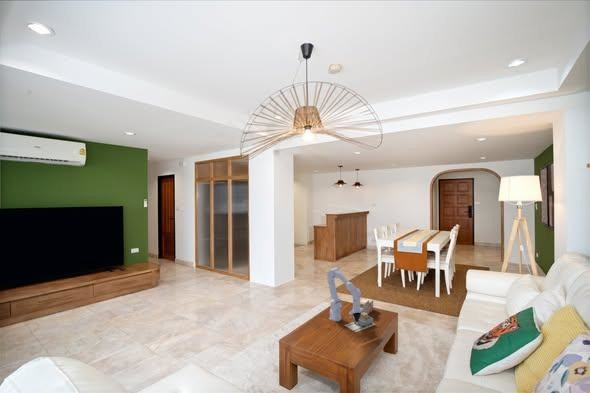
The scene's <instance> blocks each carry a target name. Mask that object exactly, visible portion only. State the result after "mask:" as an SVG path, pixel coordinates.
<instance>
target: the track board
mask: <svg viewBox="0 0 590 393" xmlns="http://www.w3.org/2000/svg"><path fill="white" fill-rule="evenodd" d="M344 326H345V327H347V328H348V329H350V330H352V331H353V332H355V333H356V332H360V331H362V330H365V329H367V328H368V329H369V328H370V327H373V326H376V323H374V322H372V324H370V323H369V324H366V325H364V327H362V325H360V324H358V323H357V322H356V323H354V321H353V322H350V323H347V324H344Z"/></svg>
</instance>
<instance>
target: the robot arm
mask: <svg viewBox="0 0 590 393" xmlns="http://www.w3.org/2000/svg"><path fill="white" fill-rule="evenodd" d="M326 273H327V276H326V279H327V283H328V284H327V285H328V288H329V293H330V298H331V300H330V302H329V303H330V310H329V318H328V320H331V321H334V322H340V321H341V319H342V315H341V314H342V313H341V310H342V308H343V303H342V301H341V299H340V298H339V295H338V292H337V287H336V283H335V282H336V281H335V278H336V279H339V280H340V281H341V282H342V283H343V284H344V285H345V288H346V289H347V291H349V292H350V294H351V296H352V309H351V310H350V311H349V312H348V315H350V316H351V315H353V317H354V318H355V321H356V322H358V320H359V317H360V315H361V313H360V312H361V311H364V308H360V300H361V295H362V291H361V289H360V288H357V287H356V286H355V285H354V283H353V282H351V281H348V279H347V278H346V277H345V276H344V274H343V273H342V271H341V270H340V268H339V267H336V266H335V267H334V268H331V269H328V271H327V272H326Z"/></svg>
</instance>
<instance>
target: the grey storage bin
mask: <svg viewBox="0 0 590 393" xmlns="http://www.w3.org/2000/svg"><path fill="white" fill-rule="evenodd" d="M352 321H353V322H354V323H356V321H355V318H354V316H353V317H352ZM357 323H358V324H360V325H362V327H364V325H366V324H369V323H370V324H372V323H374V318H373V317H371V316H369V315H368V320H366V321H362V320H360V317H359V320H358V322H357Z"/></svg>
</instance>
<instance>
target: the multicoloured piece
mask: <svg viewBox="0 0 590 393" xmlns="http://www.w3.org/2000/svg"><path fill="white" fill-rule="evenodd" d="M360 308H364V311H361V312H360V313H363V312H364V313H366V314H368V315H369V314H370V313H372V311H373V310H374V299H370V298H362V299H360Z"/></svg>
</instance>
